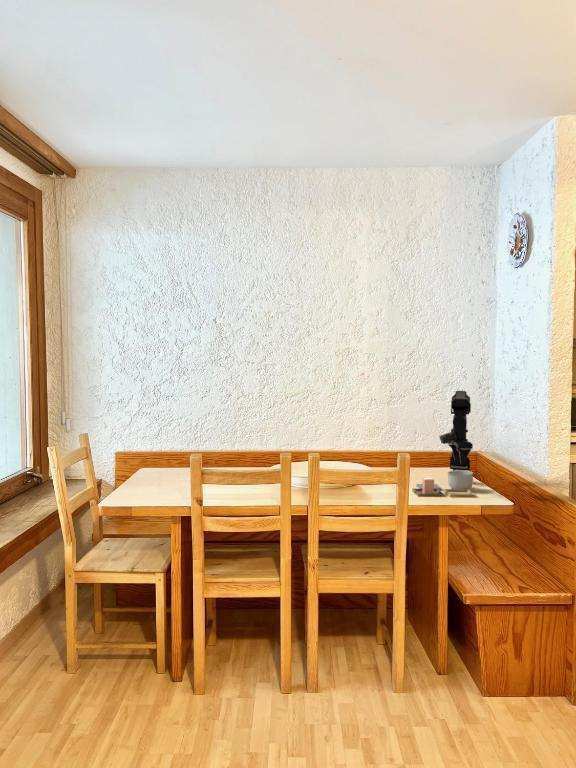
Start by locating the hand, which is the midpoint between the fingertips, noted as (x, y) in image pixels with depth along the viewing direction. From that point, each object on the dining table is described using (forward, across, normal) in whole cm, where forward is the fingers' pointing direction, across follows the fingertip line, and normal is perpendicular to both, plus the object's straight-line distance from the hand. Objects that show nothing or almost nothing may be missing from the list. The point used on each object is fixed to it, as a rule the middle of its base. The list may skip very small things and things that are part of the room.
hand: (458, 462), depth 287 cm
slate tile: (+12, -3, -12) cm, 18 cm away
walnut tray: (+13, +8, -15) cm, 21 cm away
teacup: (+13, -4, +2) cm, 13 cm away
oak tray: (+13, +9, -2) cm, 16 cm away
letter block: (+12, +8, -15) cm, 21 cm away
